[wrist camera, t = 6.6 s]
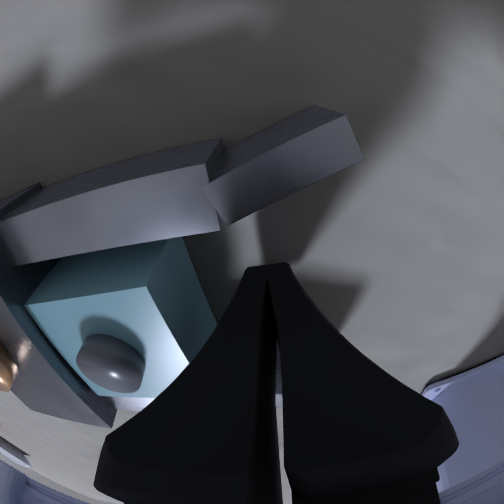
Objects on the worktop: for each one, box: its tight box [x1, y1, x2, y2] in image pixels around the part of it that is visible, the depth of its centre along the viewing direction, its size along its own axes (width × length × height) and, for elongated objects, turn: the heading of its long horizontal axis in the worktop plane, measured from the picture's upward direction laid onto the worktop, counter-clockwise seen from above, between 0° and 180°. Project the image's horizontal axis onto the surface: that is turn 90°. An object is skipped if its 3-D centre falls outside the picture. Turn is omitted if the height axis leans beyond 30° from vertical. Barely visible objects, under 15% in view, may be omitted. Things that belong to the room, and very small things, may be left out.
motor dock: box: [0, 105, 364, 428], centre depth 9 cm, size 16×11×5 cm, turn 99°
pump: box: [24, 237, 217, 398], centre depth 9 cm, size 5×5×4 cm
